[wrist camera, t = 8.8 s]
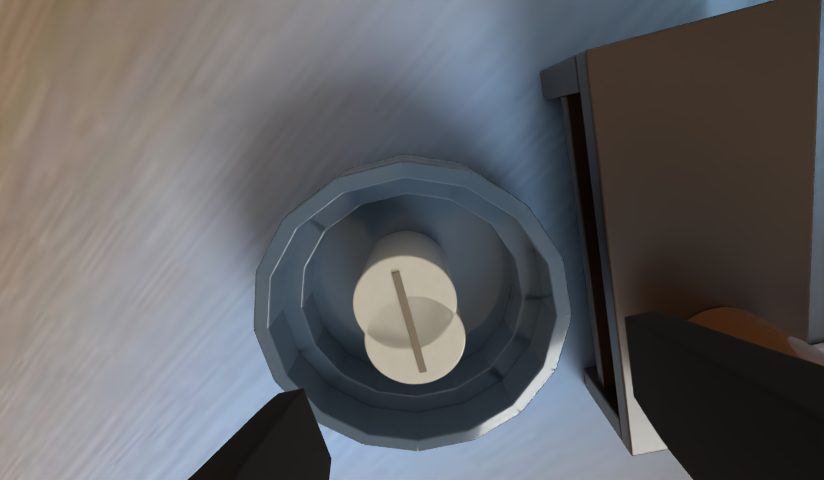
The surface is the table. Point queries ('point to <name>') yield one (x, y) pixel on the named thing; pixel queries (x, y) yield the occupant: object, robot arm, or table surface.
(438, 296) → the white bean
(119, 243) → the table surface
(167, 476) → the table surface
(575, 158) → the rack
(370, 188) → the bowl
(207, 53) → the table surface
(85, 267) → the table surface
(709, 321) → the brown rounded block
